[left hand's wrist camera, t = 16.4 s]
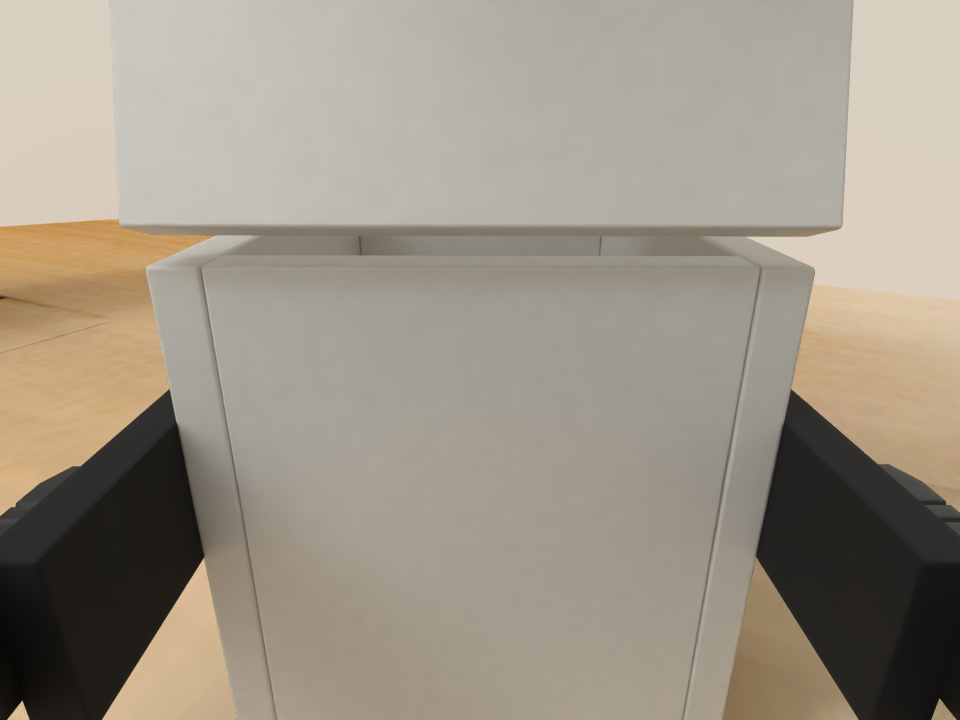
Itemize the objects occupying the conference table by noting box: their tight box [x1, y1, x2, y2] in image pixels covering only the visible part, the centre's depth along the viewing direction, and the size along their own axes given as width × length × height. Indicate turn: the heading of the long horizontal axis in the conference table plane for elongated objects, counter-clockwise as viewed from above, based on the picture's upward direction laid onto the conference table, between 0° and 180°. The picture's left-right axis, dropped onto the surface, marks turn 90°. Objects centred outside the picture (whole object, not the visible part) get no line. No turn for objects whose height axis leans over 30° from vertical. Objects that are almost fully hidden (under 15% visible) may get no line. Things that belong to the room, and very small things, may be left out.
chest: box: [146, 235, 815, 720], centre depth 17 cm, size 13×10×11 cm
